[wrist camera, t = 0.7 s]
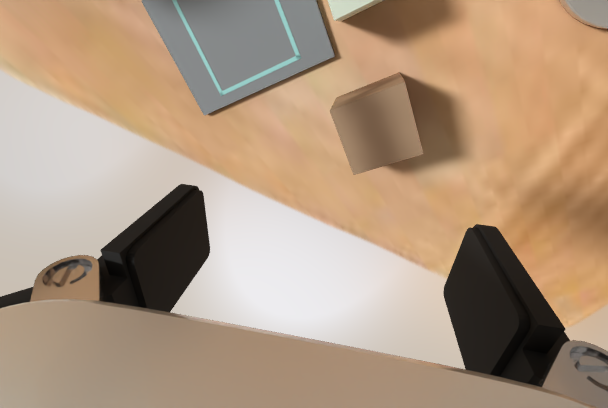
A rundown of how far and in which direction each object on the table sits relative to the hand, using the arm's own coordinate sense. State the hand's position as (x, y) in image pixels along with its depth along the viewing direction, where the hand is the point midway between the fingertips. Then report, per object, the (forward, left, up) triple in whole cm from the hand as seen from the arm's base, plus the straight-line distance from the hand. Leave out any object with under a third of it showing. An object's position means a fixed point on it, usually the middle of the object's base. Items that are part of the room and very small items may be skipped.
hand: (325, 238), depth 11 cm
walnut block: (-1, +2, -24) cm, 24 cm away
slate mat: (+9, -11, -24) cm, 28 cm away
